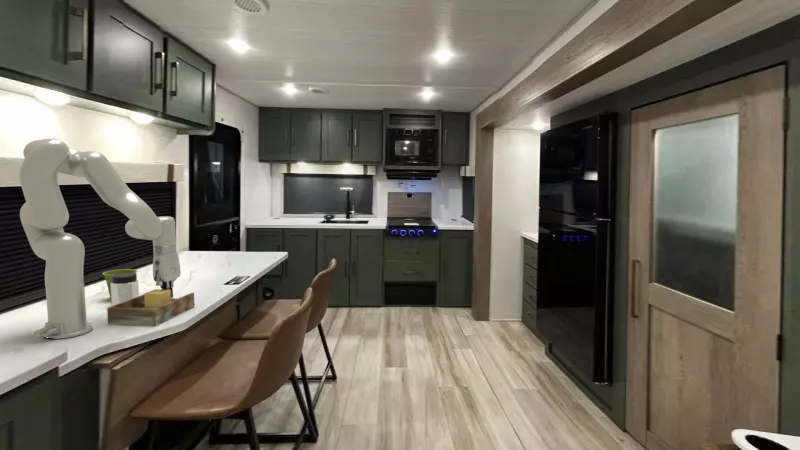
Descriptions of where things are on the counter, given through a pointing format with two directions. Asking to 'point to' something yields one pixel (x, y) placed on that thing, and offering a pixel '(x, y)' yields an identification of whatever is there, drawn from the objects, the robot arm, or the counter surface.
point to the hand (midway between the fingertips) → (167, 298)
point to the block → (157, 298)
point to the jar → (124, 287)
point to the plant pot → (109, 274)
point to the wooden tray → (147, 311)
